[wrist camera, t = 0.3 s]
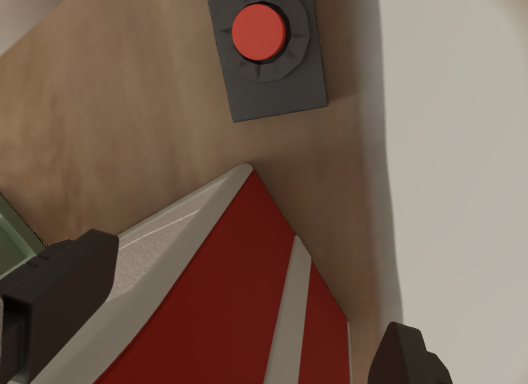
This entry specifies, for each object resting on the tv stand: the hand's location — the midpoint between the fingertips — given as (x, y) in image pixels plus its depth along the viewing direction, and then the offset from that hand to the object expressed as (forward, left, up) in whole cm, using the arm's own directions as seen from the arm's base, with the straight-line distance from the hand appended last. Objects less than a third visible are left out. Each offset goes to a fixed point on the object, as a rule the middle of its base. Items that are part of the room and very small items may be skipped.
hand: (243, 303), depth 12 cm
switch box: (-7, -4, -22) cm, 24 cm away
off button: (-7, -4, -18) cm, 20 cm away
